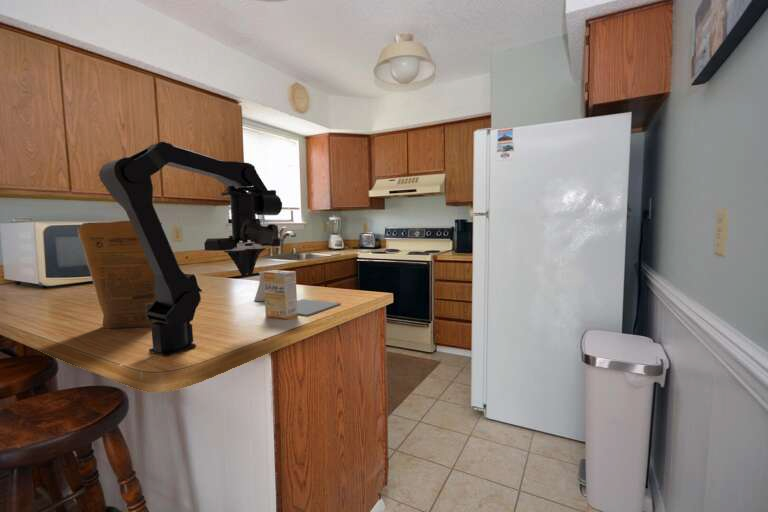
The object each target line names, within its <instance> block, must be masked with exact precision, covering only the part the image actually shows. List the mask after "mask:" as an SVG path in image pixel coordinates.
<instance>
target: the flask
mask: <svg viewBox="0 0 768 512" xmlns="http://www.w3.org/2000/svg"><path fill="white" fill-rule="evenodd" d="M265 271H266V270H265ZM265 271H259V272H258V274H259V283H258V287H257V291H256V293H255V296H254V301H255V302H265V292H264V272H265Z"/></svg>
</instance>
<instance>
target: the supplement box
mask: <svg viewBox="0 0 768 512" xmlns="http://www.w3.org/2000/svg"><path fill="white" fill-rule="evenodd" d="M263 272H264V271H263ZM296 273H297V271H295V270H294V271H292V270H278V269H272V270H271V269H270V270H265V272H264V292H265V301H264V308H265V309H264V310H265V317H267V318H268V317H269V318H275V319H283V320H290V319H292V318H295V317H297V316H298V315H297V301H298V299H297V298H298V295H297V294H298V293H297V292H298V291H297V274H296Z"/></svg>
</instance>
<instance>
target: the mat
mask: <svg viewBox="0 0 768 512" xmlns="http://www.w3.org/2000/svg"><path fill="white" fill-rule="evenodd" d="M341 304H342V303H341V302H333V301H324V300H316V299H315V300H314V299H306V298H305V299H304V298H303V299H297V316H303V317H309V316H312V315H315V314H318V313H321V312H323V311H327V310H329V309H333V308H334V307H337V306H341Z"/></svg>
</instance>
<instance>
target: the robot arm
mask: <svg viewBox="0 0 768 512" xmlns="http://www.w3.org/2000/svg"><path fill="white" fill-rule="evenodd" d="M165 166H168V167H171V168H175V169H179V170H183V171H187V172H189V173H190V172H192V173H196V174H199V175H202V176H207V177H211V178H212V179H216V180H217V181H218V182H219V183H221V184H223V185H224V186H225V185H226V186H227V187H226V189H225V190H224V191H222V192H221V196H222V197H229V201H230V203H229V204H230V214H231V215H230V216H231V218H230V219H229V218H228V219H227V224H231V235H229V236H228V237H215V238H214V237H212V238H211V237H210V238H207V239H206V240H205V241H204V251H214V252H215V251H223V253H224V254H225V253H226V254H227V255H228V256H229V257H230V258H231V259H232V261H233V263H234V264H235V266H236V268H237V270H238V271H239V273H240V275H241V277H242V278H247V277H252V276H253V274H254V271H255V266H256V264H257V260H258V257H259V256H260V255H261V253H263V252H264V251H266V247H265V246H267V247H269V246H270V247H280V246H281V239H280V238H279V226H278V225H276V224H274V223H272V224H270V223H269V224H268V225H267V226H266V225H264V226H263V225H262V224H261V220H260V218H256V216H279V214H280V213H281V211H282V209H283V202H282V199H281V198H280V197H279V195H277V191H276V190H275V189H271V190H269V189H268V188H267V187H266V185H265V184H264V182H263V180H262V179H261V176H260V175H259V173H258V171H257V169H256V167H255V166H254V165H253V164H252V163H251V162H244V161H234V160H232V161H231V160H230V161H229V160H221V159H218V158H215V157H211V156H209V155H206V154H202V153H198V152H197V151H196V152H195V151H192V150H189V149H186V148H183V147H180V146H176V145H173V144H171V143H170V142H167V141H160V142H156V143H153V144H150V145H149V146H147V147H146V148H145V149H143V150H141V151H139V152H136V153H135V154H132V155H131V156H129V157H122V158H119V159H115V160H111V161H108V162H106V163H105V164H104V163H103V165H102V166H101V168H100V170H99V173H98V176H99V180H100V181H101V183H102V185H103V186H104V187H105V189H106V190H107V192H108V193H109V195H110V196H111V197H112V198H113V199H114V200H115V201H116V203H118V204H119V205H120V206H121V207H122V208H123V209H124V210H125V213H126V215H127V217H128V219H129V220H128V221H130V222H131V224H132V226H133V228H134V231H135V233H136V235H137V237H138V239H139V242H140V244H141V246H142V248H143V250H144V253H145V255H146V257H147V259H148V261H149V264H150V266H151V268H152V270H153V272H154V275H155V286H154V290H155V294H156V298H157V300H156V301H155V302H154V303H153V304H152V305H151V306H150V308H149V309H148V310H147V311H146V312H145V314H146V316H147V318H148V320H149V321H154V322H155V323H152V324H151V327H150V329H151V337H152V338H151V339H152V348H149V349H148V351H149V353H152V354H156V355H159V356H163V357H169V356H173V355H175V354H178V353H181V352H184V351H187V350H190V349H193V348H195V347H197V343H193V342H194V333H193V324H192V323H191V322H193V321H194V317H195V313H196V309H197V308H198V306H199V304H200V302H201V300H202V297H201V293H202V292H203V290H202V289H201V288H200V286H199V285H198V281H197V277H196V275H195V274H191V273H184V272H183V270H182V269H181V268H180V265H179V262H178V261H177V258H176V256H175V254H174V252H173V249H172V247H171V244H170V242H169V239H168V238H167V234H166V232H165V230H164V228H163V225H161V223H162V222H161V220H160V218H159V216H158V214H157V211H156V209H155V207H154V203H153V201H154V200H153V199H154V198H153V197H154V186H153V181H152V177H151V176H153V175H155V174H157V172H159V171H160V170H161V169H163V168H164V167H165ZM263 246H264V247H265V248H263ZM200 292H201V293H200Z"/></svg>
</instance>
